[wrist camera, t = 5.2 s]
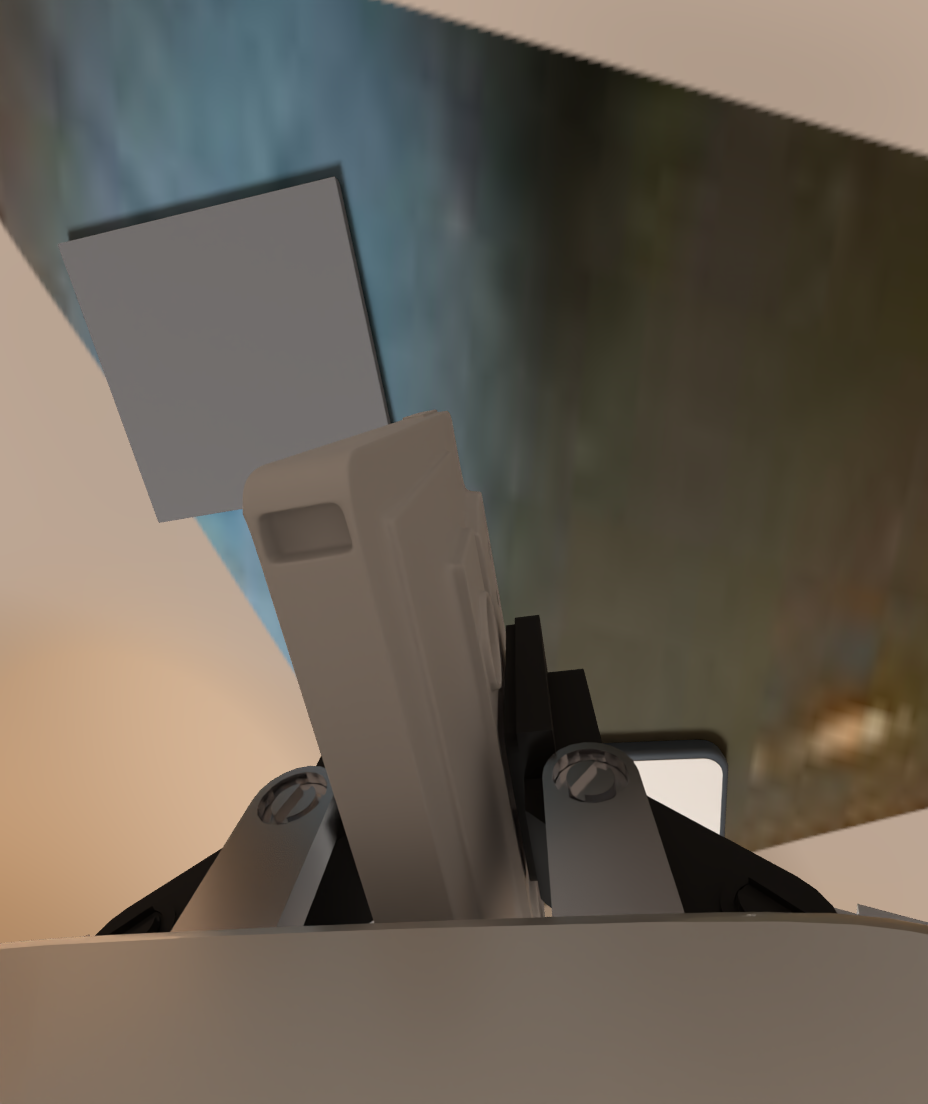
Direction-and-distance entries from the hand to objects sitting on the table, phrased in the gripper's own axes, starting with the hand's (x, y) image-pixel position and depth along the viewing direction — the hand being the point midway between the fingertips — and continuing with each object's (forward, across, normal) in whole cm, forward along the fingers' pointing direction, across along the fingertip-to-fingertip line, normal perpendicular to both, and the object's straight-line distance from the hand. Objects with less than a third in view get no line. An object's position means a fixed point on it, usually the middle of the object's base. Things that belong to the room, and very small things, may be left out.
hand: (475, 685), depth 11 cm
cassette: (+2, 0, 0) cm, 2 cm away
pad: (+13, +10, -9) cm, 19 cm away
